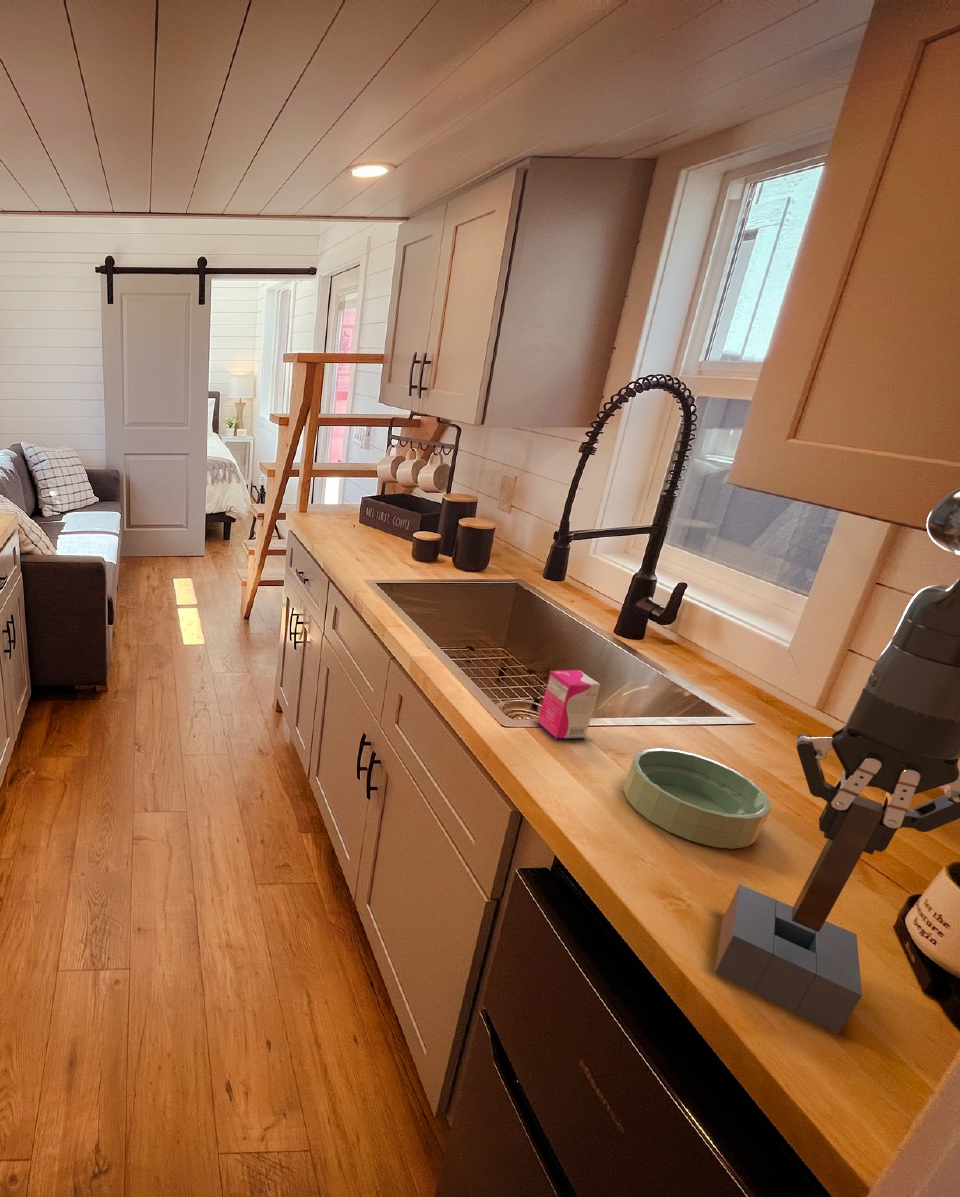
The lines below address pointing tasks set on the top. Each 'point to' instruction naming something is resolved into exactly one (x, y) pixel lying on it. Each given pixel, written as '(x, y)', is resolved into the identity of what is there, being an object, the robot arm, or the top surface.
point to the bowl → (696, 798)
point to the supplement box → (568, 704)
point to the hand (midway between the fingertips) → (846, 841)
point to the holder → (789, 959)
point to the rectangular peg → (836, 864)
